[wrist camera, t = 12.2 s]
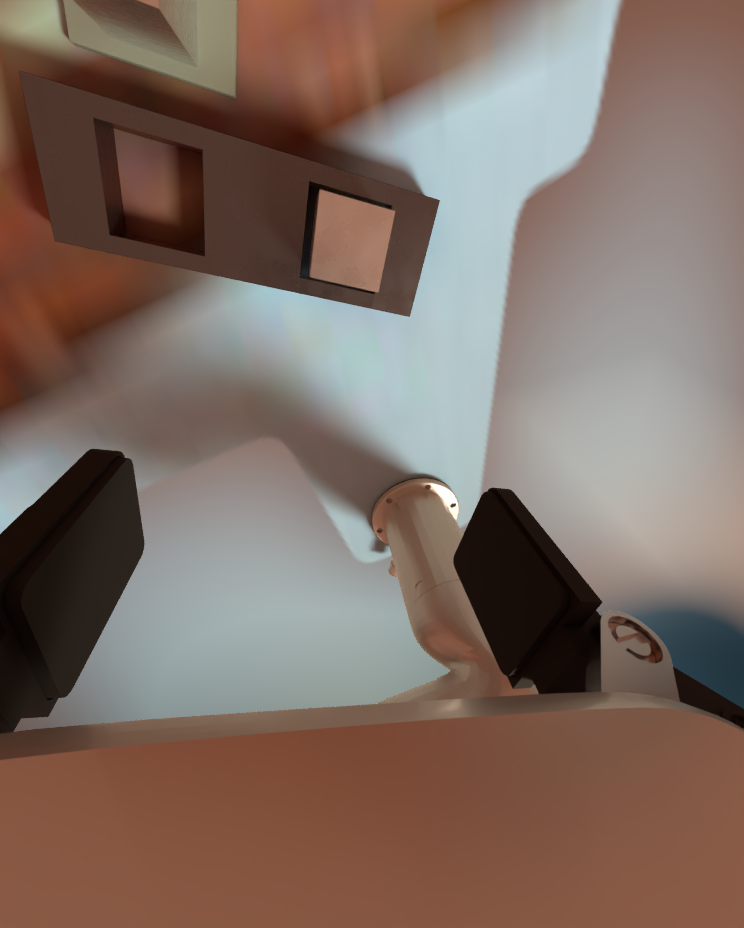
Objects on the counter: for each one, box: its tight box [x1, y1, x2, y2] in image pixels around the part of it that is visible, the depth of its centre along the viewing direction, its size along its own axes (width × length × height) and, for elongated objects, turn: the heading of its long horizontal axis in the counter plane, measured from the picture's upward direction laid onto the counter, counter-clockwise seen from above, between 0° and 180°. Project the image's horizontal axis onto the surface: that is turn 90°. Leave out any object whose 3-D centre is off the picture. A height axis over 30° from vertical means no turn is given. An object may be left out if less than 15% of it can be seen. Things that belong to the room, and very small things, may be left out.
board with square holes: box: [19, 71, 440, 317], centre depth 29 cm, size 9×28×3 cm, turn 77°
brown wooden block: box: [309, 189, 395, 292], centre depth 28 cm, size 5×5×8 cm
